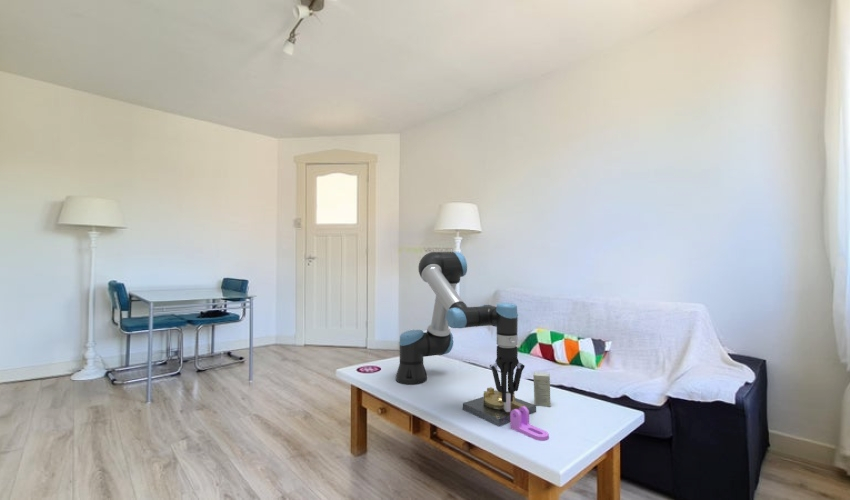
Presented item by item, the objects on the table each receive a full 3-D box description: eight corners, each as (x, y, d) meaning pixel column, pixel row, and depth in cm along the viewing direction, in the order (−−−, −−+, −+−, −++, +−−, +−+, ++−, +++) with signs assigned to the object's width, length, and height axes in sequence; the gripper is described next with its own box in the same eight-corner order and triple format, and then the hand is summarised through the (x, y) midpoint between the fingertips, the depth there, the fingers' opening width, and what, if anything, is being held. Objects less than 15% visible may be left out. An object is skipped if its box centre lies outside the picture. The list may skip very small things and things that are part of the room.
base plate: (462, 409, 151) (462, 403, 151) (499, 397, 164) (498, 391, 164) (506, 429, 133) (506, 422, 133) (544, 414, 146) (543, 408, 146)
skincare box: (550, 403, 158) (550, 373, 158) (550, 407, 154) (550, 376, 154) (534, 401, 160) (534, 371, 160) (533, 405, 156) (533, 374, 156)
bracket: (510, 428, 135) (510, 408, 135) (520, 424, 138) (520, 404, 138) (541, 442, 124) (541, 421, 125) (552, 438, 128) (552, 416, 128)
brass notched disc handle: (477, 401, 152) (477, 390, 152) (499, 395, 158) (499, 384, 158) (512, 418, 136) (512, 405, 136) (535, 411, 142) (535, 399, 143)
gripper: (493, 348, 137) (493, 415, 136) (528, 347, 139) (528, 413, 139) (486, 344, 144) (486, 407, 144) (519, 342, 146) (519, 405, 146)
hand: (507, 410), depth 141 cm, fingers closed
